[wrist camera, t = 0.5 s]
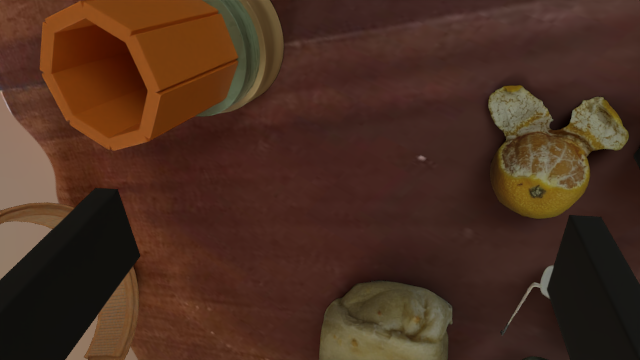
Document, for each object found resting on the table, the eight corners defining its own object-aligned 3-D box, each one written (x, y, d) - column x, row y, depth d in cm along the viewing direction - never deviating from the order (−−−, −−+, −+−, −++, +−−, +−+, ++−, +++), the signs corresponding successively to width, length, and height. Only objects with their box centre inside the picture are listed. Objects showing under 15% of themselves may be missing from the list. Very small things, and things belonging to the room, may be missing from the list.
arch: (125, 360, 48) (166, 280, 55) (-43, 240, 37) (35, 159, 44) (89, 361, 51) (133, 285, 58) (-78, 249, 40) (2, 172, 47)
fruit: (637, 104, 27) (652, 124, 24) (586, 219, 31) (594, 249, 28) (493, 79, 30) (491, 95, 27) (463, 190, 34) (458, 214, 31)
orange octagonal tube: (206, -26, 28) (111, -16, 21) (252, 92, 31) (179, 133, 24) (122, 13, 32) (17, 32, 25) (169, 116, 34) (85, 158, 27)
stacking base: (253, -55, 31) (189, -53, 25) (302, 85, 35) (255, 116, 28) (150, -6, 36) (73, 5, 30) (201, 113, 39) (142, 146, 33)
